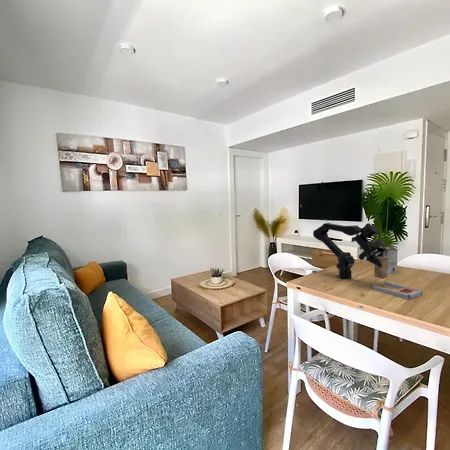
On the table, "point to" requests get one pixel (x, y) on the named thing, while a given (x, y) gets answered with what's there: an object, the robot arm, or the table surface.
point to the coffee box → (391, 259)
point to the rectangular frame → (406, 291)
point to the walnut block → (381, 268)
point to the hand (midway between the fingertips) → (383, 265)
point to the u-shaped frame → (395, 293)
